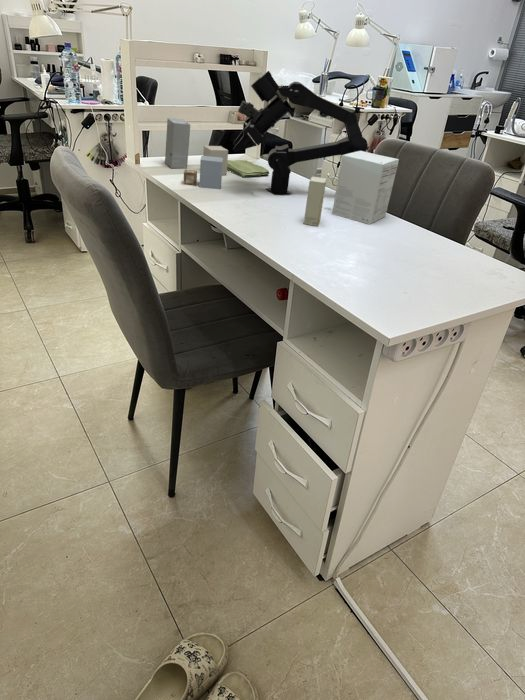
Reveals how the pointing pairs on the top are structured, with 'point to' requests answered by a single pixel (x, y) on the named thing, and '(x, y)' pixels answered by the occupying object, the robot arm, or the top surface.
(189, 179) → the brown picture frame
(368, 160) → the supplement box
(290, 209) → the top surface
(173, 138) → the skincare box
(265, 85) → the robot arm
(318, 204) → the skincare box
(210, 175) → the blue box
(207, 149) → the taupe cardboard box
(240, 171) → the washcloth
